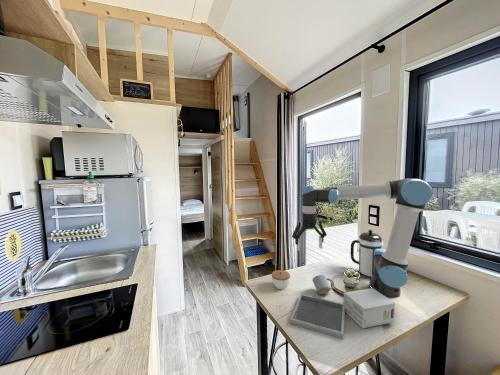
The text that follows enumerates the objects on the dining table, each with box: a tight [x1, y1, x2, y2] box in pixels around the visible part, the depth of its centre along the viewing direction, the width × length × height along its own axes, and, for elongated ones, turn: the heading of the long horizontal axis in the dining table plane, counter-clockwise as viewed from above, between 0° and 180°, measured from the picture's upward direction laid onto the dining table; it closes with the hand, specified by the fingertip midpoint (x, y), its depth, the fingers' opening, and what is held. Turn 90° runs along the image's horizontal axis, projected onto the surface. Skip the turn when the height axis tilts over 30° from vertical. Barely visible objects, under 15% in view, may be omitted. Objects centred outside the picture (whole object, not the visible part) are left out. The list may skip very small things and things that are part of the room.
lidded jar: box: [271, 269, 291, 290], centre depth 127 cm, size 11×11×9 cm
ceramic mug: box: [312, 274, 335, 295], centre depth 119 cm, size 11×8×8 cm
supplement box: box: [342, 287, 396, 329], centre depth 100 cm, size 17×13×9 cm
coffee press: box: [350, 229, 384, 278], centre depth 139 cm, size 17×16×30 cm
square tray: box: [289, 293, 346, 340], centre depth 101 cm, size 22×22×2 cm
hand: (309, 249), depth 124 cm, fingers open, 13 cm apart
